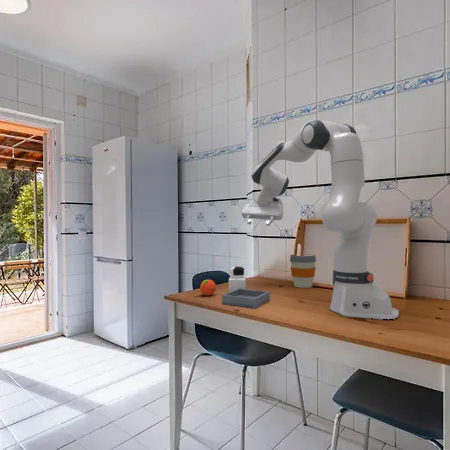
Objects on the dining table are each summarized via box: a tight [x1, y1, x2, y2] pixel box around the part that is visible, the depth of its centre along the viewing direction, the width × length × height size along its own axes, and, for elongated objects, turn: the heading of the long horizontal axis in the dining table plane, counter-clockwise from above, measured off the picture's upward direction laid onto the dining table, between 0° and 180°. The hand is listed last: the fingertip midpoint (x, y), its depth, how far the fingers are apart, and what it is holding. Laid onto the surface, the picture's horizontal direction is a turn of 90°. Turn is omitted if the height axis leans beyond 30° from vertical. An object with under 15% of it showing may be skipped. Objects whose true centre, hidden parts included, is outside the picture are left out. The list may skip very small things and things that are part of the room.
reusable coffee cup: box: [289, 254, 317, 289], centre depth 161 cm, size 12×12×15 cm
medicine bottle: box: [228, 266, 247, 293], centre depth 145 cm, size 7×7×12 cm
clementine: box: [199, 279, 217, 297], centre depth 142 cm, size 8×7×7 cm
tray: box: [221, 288, 270, 310], centre depth 130 cm, size 14×14×4 cm
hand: (258, 224), depth 154 cm, fingers open, 8 cm apart
